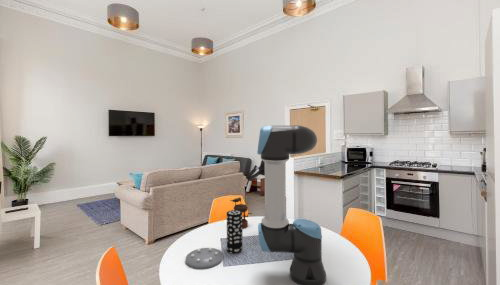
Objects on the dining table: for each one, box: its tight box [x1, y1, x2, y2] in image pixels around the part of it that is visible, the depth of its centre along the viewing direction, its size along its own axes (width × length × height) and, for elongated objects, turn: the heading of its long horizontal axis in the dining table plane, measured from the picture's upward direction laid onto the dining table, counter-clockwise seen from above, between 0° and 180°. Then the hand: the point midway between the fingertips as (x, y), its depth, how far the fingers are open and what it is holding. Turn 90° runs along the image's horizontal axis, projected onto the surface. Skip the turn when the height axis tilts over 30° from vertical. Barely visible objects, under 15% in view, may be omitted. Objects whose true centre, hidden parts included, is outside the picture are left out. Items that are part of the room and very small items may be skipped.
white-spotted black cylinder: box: [226, 209, 244, 255], centre depth 127 cm, size 8×8×20 cm
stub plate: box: [185, 247, 224, 270], centre depth 117 cm, size 18×18×3 cm
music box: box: [229, 197, 253, 230], centre depth 162 cm, size 15×11×20 cm
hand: (257, 194), depth 139 cm, fingers open, 13 cm apart
